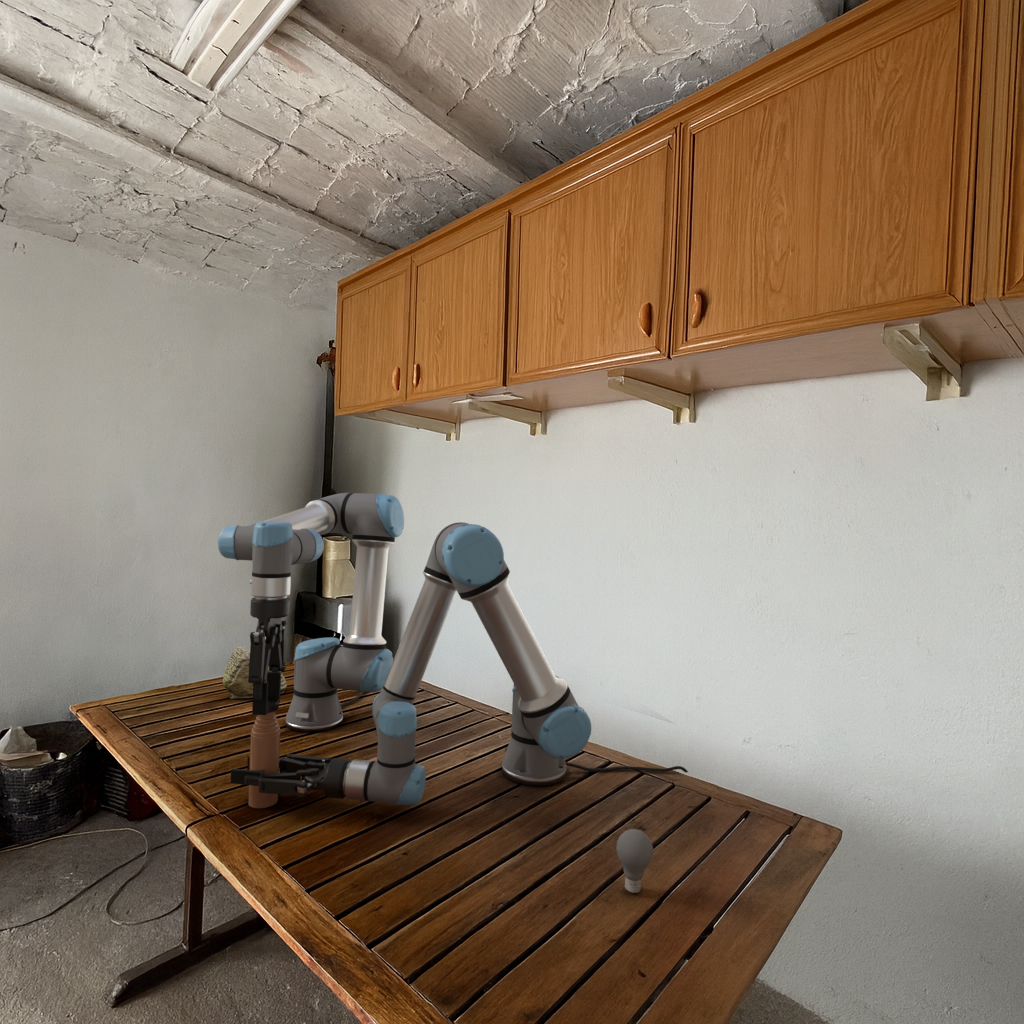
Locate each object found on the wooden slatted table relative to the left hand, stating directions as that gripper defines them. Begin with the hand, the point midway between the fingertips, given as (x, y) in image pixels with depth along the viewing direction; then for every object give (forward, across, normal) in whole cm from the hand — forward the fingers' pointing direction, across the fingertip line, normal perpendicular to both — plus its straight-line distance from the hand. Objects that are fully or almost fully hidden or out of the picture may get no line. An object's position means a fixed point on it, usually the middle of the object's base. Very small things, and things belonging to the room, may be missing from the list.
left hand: (266, 708), depth 130 cm
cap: (-1, 0, 0) cm, 1 cm away
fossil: (+19, -67, -30) cm, 76 cm away
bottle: (+19, 0, 0) cm, 19 cm away
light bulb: (+19, +25, +72) cm, 78 cm away
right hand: (+13, 0, -5) cm, 14 cm away
